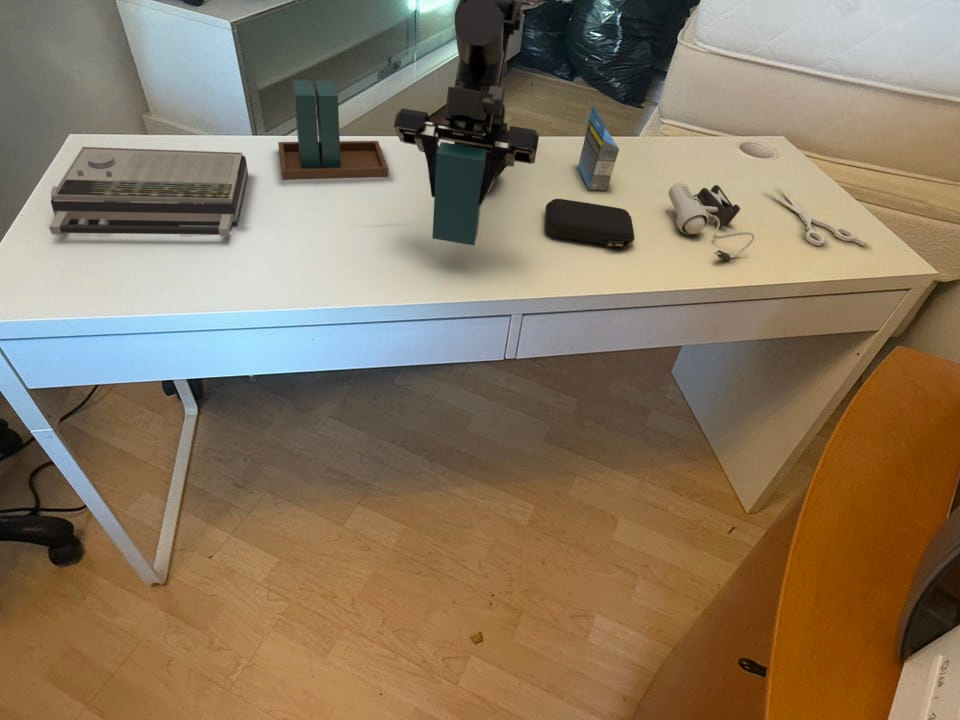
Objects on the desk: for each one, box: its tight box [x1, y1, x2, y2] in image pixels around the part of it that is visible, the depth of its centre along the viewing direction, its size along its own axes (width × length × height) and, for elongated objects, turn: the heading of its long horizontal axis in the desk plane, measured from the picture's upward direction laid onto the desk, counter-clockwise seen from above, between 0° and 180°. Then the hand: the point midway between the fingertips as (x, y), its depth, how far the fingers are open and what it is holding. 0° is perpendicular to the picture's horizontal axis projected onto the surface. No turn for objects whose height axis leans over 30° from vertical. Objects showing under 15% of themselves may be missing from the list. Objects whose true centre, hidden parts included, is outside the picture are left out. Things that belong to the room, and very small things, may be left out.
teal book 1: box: [292, 79, 320, 169], centre depth 102 cm, size 3×6×13 cm, turn 16°
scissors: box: [766, 188, 867, 247], centre depth 115 cm, size 11×1×20 cm
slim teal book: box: [432, 141, 487, 246], centre depth 83 cm, size 3×6×13 cm, turn 81°
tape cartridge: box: [577, 104, 620, 192], centre depth 112 cm, size 9×4×12 cm, turn 8°
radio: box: [48, 146, 249, 237], centre depth 91 cm, size 24×5×20 cm
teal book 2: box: [314, 80, 341, 168], centre depth 103 cm, size 3×6×13 cm, turn 16°
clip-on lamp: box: [668, 182, 756, 262], centre depth 105 cm, size 12×6×18 cm
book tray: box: [277, 140, 389, 181], centre depth 108 cm, size 18×11×2 cm, turn 106°
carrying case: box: [544, 198, 635, 248], centre depth 102 cm, size 11×3×15 cm
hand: (456, 200), depth 81 cm, fingers closed on slim teal book, 6 cm apart
